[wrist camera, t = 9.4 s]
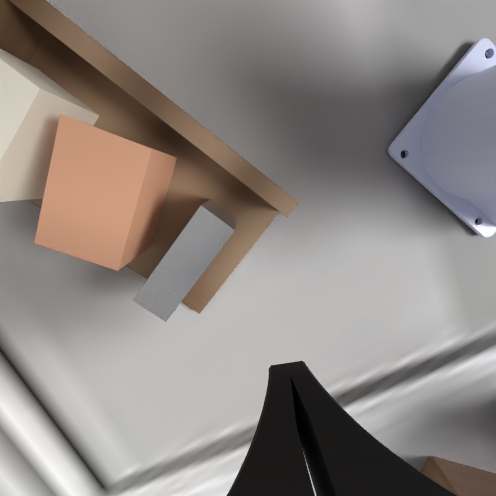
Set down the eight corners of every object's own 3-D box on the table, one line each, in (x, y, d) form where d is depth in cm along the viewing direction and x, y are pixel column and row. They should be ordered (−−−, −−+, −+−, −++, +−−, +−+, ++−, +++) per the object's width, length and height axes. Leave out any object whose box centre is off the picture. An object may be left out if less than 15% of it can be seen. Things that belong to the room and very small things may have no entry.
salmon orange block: (177, 157, 17) (152, 149, 12) (150, 247, 18) (117, 271, 14) (112, 133, 17) (60, 113, 12) (90, 226, 18) (33, 243, 13)
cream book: (99, 115, 16) (40, 88, 12) (50, 197, 17) (-24, 204, 13) (37, 68, 16) (-54, 19, 11) (-11, 156, 17) (-112, 147, 12)
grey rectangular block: (236, 218, 18) (234, 230, 13) (183, 288, 19) (165, 321, 14) (210, 198, 17) (200, 205, 13) (158, 271, 18) (132, 300, 14)
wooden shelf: (287, 198, 18) (312, 207, 12) (200, 309, 20) (182, 370, 14) (38, 0, 16) (-104, -127, 9) (-39, 150, 17) (-204, 132, 11)
